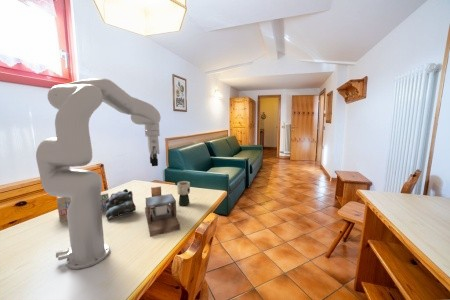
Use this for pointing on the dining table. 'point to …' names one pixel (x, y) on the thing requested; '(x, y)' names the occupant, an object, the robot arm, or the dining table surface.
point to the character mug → (183, 192)
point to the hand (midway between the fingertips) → (154, 164)
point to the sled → (155, 192)
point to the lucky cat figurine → (119, 204)
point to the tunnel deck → (164, 224)
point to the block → (161, 209)
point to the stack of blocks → (65, 202)
